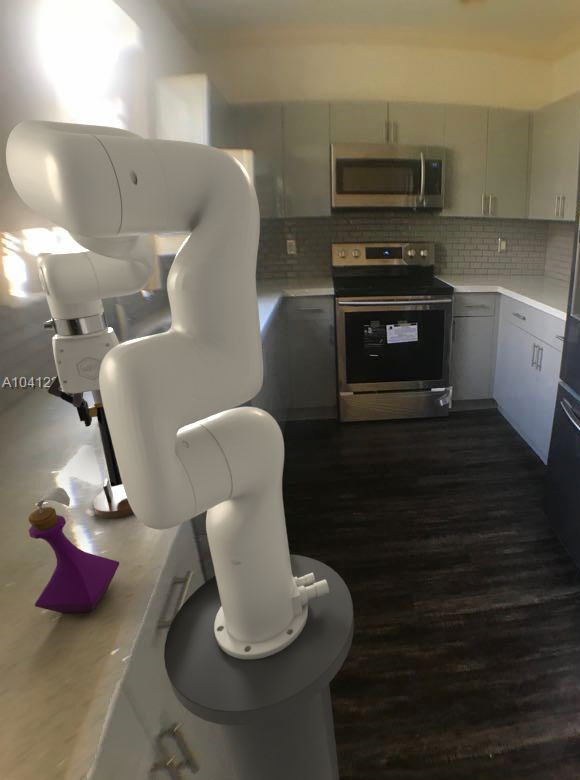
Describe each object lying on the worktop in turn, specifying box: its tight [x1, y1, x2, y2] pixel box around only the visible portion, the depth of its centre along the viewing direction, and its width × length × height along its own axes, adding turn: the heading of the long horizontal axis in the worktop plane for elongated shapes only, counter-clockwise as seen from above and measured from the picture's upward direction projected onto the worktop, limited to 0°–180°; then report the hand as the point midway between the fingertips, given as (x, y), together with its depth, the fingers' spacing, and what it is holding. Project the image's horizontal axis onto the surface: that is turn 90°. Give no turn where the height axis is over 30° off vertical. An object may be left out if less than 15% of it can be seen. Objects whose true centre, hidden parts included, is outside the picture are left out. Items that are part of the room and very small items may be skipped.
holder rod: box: [88, 402, 123, 487], centre depth 85 cm, size 16×5×3 cm
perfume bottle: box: [27, 486, 120, 614], centre depth 61 cm, size 8×8×18 cm
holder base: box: [92, 477, 134, 519], centre depth 85 cm, size 10×10×5 cm
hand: (107, 419), depth 85 cm, fingers closed on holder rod, 5 cm apart
